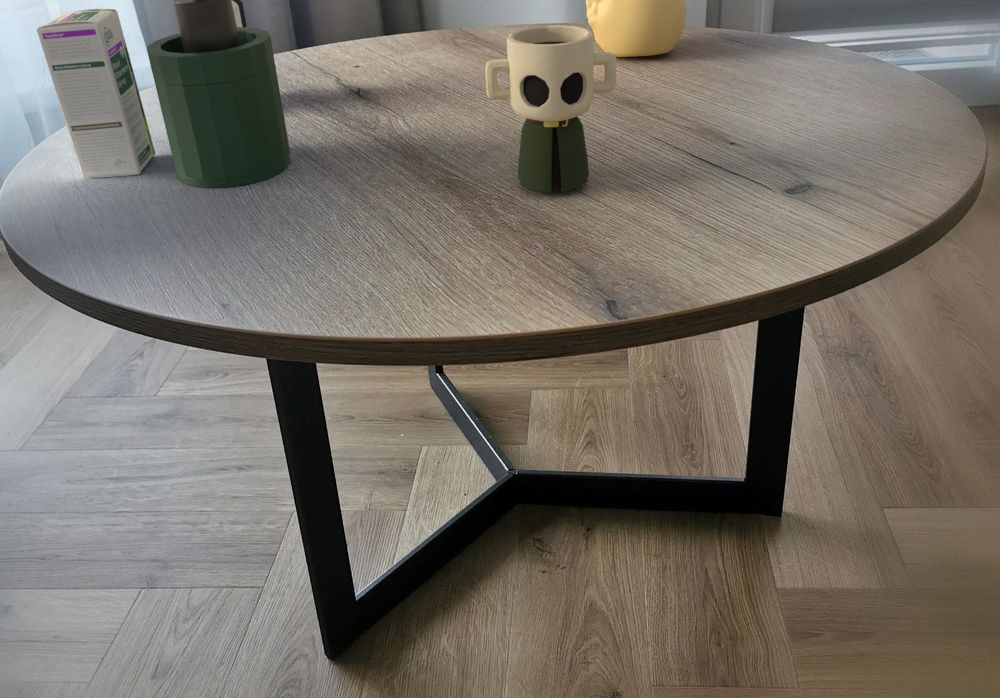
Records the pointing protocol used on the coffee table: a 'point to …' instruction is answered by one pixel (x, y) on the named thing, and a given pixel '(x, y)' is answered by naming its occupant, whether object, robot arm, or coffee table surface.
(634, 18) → the sculpture
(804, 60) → the coffee table surface
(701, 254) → the coffee table surface
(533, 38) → the character mug
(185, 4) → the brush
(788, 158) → the coffee table surface
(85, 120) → the syrup box
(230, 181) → the jar
